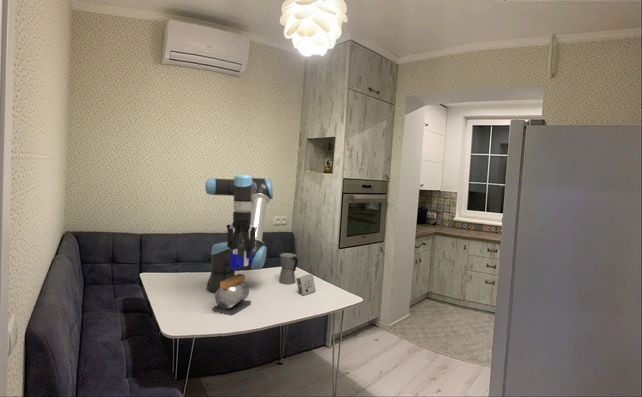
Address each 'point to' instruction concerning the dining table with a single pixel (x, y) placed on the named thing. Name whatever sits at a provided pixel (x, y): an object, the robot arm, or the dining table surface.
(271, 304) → the dining table surface
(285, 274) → the coffeepot
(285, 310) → the dining table surface
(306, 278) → the electrical switch
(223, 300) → the silver rounded piece
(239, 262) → the blue notched block
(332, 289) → the dining table surface
